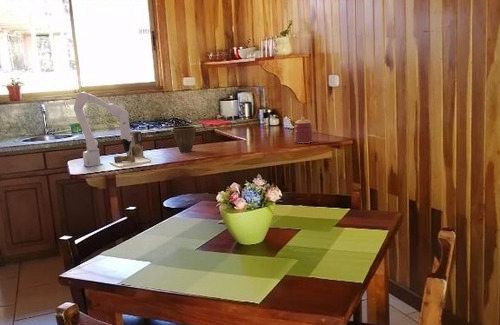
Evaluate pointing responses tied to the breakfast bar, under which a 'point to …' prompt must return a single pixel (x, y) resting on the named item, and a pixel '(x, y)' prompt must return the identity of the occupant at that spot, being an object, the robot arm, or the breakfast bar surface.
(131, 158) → the tuning peg
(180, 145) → the plant pot
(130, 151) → the coffee box
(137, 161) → the dial board
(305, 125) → the canister
